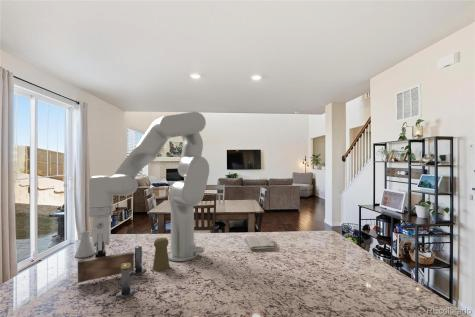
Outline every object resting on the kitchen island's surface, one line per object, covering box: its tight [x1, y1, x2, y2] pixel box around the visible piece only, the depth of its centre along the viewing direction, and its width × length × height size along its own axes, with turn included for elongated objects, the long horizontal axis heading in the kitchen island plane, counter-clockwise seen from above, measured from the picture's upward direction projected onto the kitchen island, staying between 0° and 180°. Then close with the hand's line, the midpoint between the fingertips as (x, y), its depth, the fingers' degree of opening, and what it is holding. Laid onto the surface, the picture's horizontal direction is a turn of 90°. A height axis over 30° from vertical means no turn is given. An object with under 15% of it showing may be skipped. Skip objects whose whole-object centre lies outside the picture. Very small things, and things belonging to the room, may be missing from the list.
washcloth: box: [244, 235, 276, 252], centre depth 120 cm, size 12×18×3 cm, turn 8°
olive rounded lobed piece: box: [152, 237, 171, 272], centre depth 95 cm, size 6×6×11 cm
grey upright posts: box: [115, 245, 147, 299], centre depth 83 cm, size 7×19×9 cm, turn 178°
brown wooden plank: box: [77, 251, 135, 283], centre depth 86 cm, size 17×2×6 cm, turn 120°
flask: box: [74, 230, 96, 259], centre depth 108 cm, size 7×7×10 cm
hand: (100, 263), depth 88 cm, fingers closed
